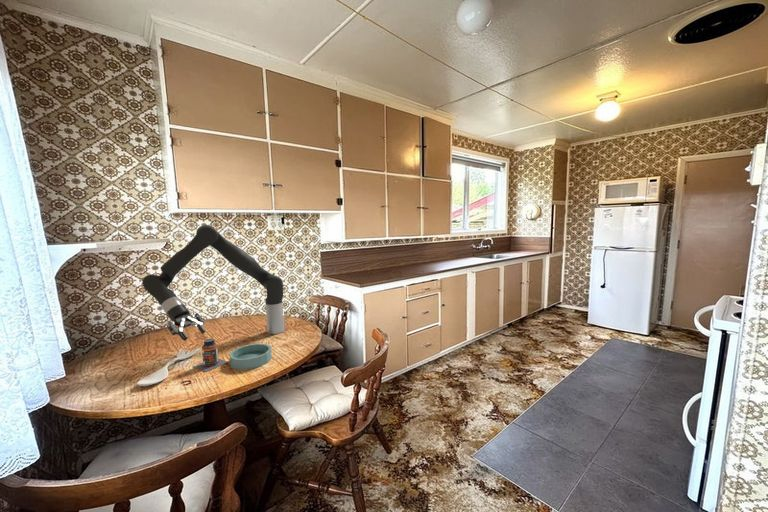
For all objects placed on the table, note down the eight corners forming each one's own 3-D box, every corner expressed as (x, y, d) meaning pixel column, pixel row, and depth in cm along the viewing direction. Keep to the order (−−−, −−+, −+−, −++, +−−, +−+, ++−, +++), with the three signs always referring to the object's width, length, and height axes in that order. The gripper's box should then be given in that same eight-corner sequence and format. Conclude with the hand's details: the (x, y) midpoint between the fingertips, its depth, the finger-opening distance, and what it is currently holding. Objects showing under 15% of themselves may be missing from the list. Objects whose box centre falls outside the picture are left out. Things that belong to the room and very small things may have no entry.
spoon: (200, 353, 143) (200, 346, 143) (156, 389, 112) (155, 381, 111) (181, 354, 142) (180, 347, 142) (130, 391, 111) (129, 382, 110)
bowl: (255, 350, 145) (254, 341, 145) (279, 356, 137) (278, 347, 137) (222, 364, 130) (221, 354, 130) (247, 373, 122) (246, 362, 122)
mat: (215, 357, 137) (215, 357, 137) (228, 362, 132) (228, 361, 132) (192, 367, 128) (192, 366, 128) (206, 372, 124) (206, 371, 124)
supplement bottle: (203, 368, 126) (200, 343, 125) (203, 363, 131) (200, 339, 130) (218, 365, 129) (216, 340, 128) (218, 360, 134) (216, 336, 133)
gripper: (162, 308, 126) (184, 336, 124) (193, 300, 140) (213, 325, 137) (155, 319, 129) (176, 347, 126) (186, 310, 142) (205, 335, 140)
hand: (195, 335), depth 132 cm, fingers open, 8 cm apart
